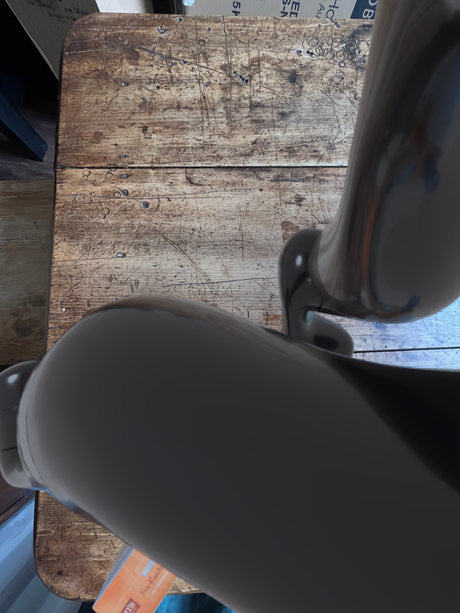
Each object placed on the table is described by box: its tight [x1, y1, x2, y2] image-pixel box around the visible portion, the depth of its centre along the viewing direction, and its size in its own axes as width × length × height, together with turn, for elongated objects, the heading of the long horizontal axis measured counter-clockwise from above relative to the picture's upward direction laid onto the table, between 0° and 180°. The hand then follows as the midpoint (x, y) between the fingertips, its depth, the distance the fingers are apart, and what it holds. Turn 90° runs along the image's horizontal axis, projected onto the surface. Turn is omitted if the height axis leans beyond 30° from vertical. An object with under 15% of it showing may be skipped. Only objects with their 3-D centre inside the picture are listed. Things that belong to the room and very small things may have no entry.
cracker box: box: [92, 542, 179, 613], centre depth 49 cm, size 14×6×21 cm, turn 143°
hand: (271, 487), depth 51 cm, fingers closed on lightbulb, 6 cm apart
